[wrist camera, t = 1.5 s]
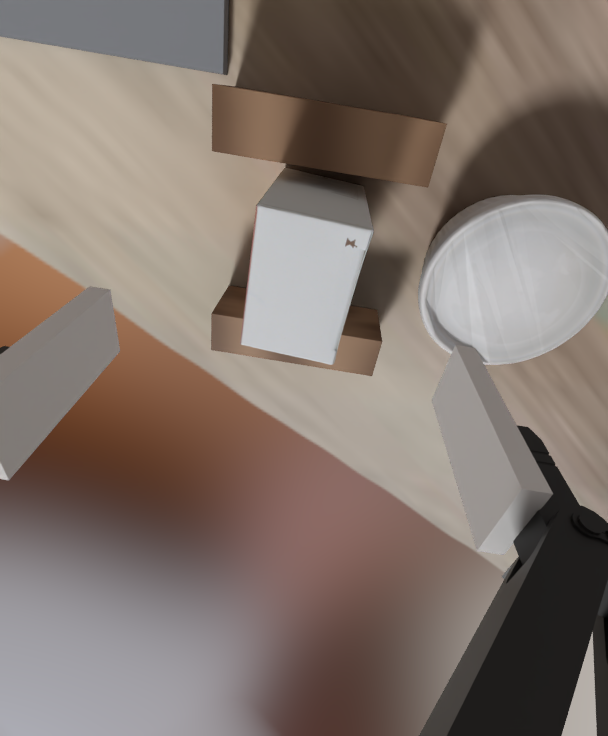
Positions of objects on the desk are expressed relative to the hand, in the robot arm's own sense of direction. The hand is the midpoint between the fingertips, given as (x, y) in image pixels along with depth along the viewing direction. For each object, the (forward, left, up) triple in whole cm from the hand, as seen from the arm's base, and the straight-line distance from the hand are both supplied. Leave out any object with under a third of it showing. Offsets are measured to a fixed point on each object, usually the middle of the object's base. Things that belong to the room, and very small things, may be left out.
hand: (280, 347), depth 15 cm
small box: (0, 0, -16) cm, 16 cm away
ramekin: (-13, 0, -16) cm, 21 cm away
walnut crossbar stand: (0, 0, -16) cm, 16 cm away
